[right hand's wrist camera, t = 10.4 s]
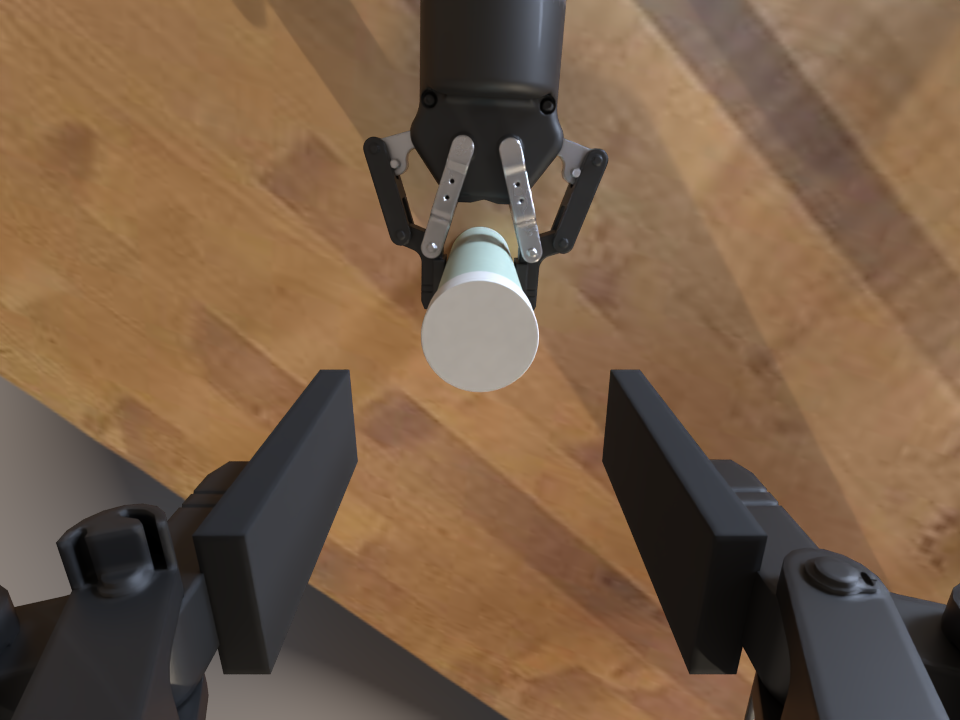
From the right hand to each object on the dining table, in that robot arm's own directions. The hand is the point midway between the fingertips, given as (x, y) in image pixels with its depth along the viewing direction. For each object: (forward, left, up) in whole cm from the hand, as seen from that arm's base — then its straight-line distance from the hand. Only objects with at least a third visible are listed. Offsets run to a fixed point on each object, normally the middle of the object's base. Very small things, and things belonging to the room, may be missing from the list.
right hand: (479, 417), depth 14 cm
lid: (0, 0, -7) cm, 7 cm away
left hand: (+1, +2, -20) cm, 20 cm away
